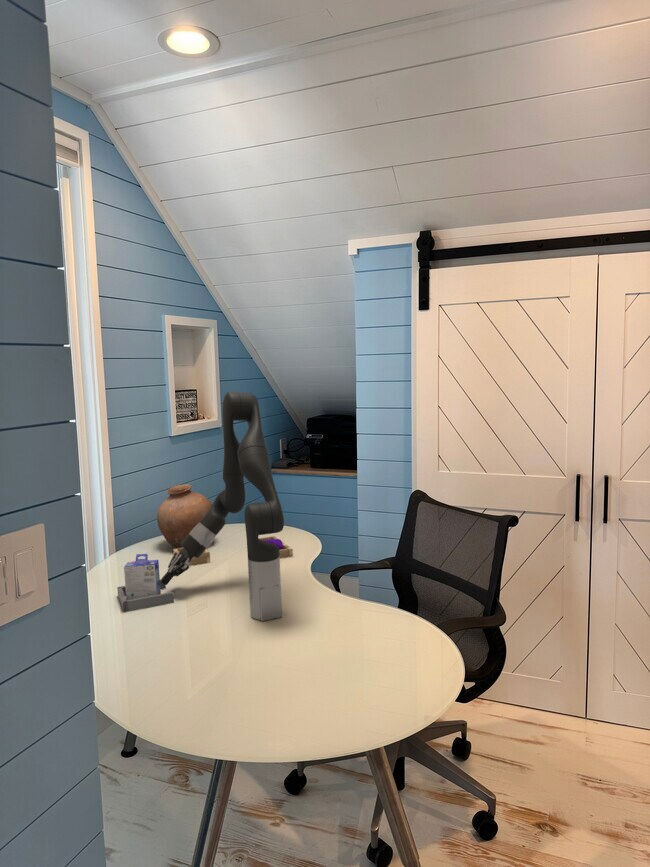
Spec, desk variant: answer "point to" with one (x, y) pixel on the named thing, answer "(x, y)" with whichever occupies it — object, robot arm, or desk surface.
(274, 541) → the crystal
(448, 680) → the desk surface
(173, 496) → the pottery
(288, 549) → the crystal cradle
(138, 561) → the ink cartridge box
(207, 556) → the wooden tray
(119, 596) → the bay
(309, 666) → the desk surface
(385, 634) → the desk surface
